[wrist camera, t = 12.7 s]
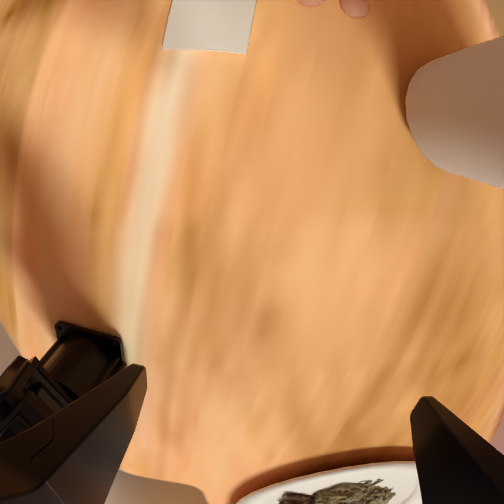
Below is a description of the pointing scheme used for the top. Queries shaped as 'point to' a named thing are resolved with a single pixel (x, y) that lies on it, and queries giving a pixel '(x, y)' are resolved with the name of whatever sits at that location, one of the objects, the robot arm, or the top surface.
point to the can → (461, 112)
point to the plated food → (346, 486)
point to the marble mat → (224, 23)
